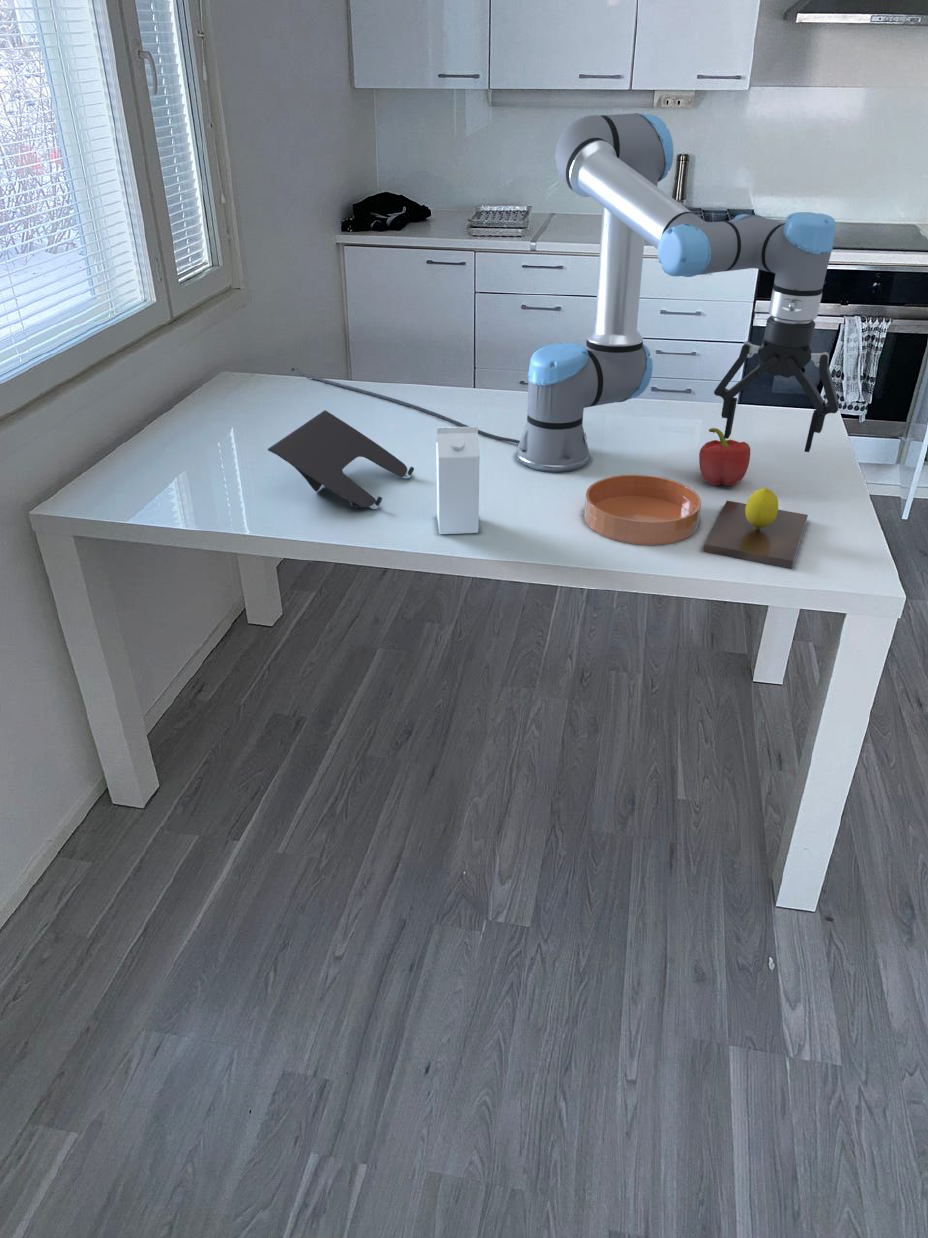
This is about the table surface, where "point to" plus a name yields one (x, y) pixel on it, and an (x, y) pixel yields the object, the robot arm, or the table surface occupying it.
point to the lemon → (761, 508)
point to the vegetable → (724, 460)
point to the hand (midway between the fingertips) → (766, 442)
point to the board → (756, 536)
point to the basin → (642, 509)
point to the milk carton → (457, 480)
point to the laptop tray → (335, 457)
